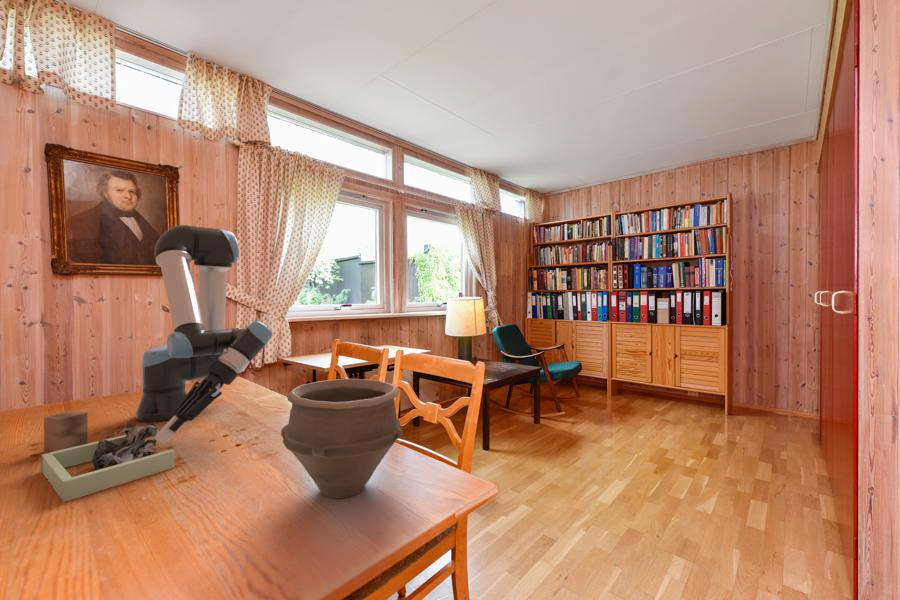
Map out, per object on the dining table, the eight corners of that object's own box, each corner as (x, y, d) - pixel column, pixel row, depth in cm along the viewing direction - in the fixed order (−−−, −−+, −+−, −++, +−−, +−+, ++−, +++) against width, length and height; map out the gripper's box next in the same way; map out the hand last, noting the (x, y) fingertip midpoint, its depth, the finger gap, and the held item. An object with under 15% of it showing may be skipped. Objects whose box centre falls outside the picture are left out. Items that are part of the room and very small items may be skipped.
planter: (271, 480, 86) (270, 382, 85) (371, 454, 100) (371, 369, 99) (302, 538, 65) (300, 410, 65) (422, 495, 80) (421, 389, 79)
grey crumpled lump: (70, 457, 89) (132, 407, 101) (103, 484, 95) (158, 434, 106) (97, 464, 85) (158, 411, 96) (130, 492, 90) (184, 438, 102)
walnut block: (72, 442, 106) (72, 410, 106) (87, 445, 104) (87, 412, 104) (44, 451, 100) (44, 417, 100) (60, 454, 98) (59, 419, 98)
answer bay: (142, 445, 104) (142, 430, 104) (174, 467, 92) (174, 450, 91) (41, 471, 89) (41, 454, 89) (63, 502, 76) (63, 482, 76)
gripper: (208, 356, 113) (137, 428, 100) (228, 361, 105) (154, 439, 92) (227, 371, 117) (162, 442, 104) (248, 377, 110) (180, 454, 97)
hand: (158, 441), depth 98 cm, fingers closed
